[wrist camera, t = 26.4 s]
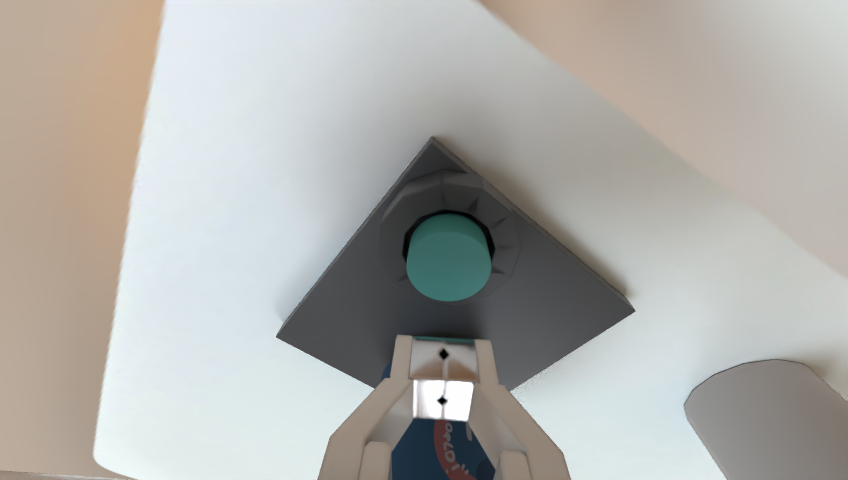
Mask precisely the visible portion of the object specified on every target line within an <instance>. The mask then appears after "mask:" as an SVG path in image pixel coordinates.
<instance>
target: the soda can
mask: <svg viewBox="0 0 848 480" xmlns="http://www.w3.org/2000/svg"><path fill="white" fill-rule="evenodd" d="M392 361H393V358H392V360H391V361H390V362H389V363H388V364H387V366H386V367H385V369H384V370H383V373H382V376H381V381H380V383H381V382H382V381H383V380H384V379H385V378H390V373H391V367H392ZM391 456H392V480H493V478H494V475H495V471H496V470H495V468H494V466H493V465H492V463H491V461H490V460H489V458H488V456H487V455H486V453H485V451H484V450H483V448H482V446H481V444H480V443H479V441H478V439H477V438H476V436H475V434H474V433H473V431H472V429H471V428H470V426H469V424H468V422H464V421H453V420H442V419H415V418H413V421H412V422H411V424H410V425H409V427H408V428H407V430H406V431H405V433H404V434H403V436H402V437H401V439H400V440H399V442H398V443H397V445H396V446H395V448H394V450H393V451H392V453H391Z"/></svg>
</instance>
